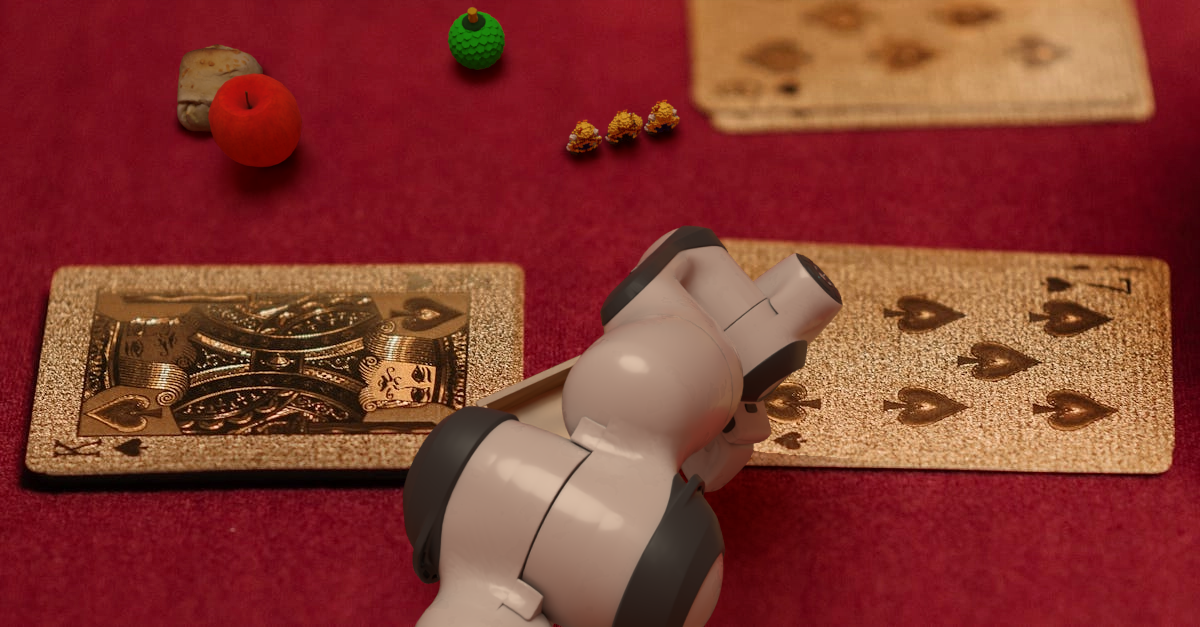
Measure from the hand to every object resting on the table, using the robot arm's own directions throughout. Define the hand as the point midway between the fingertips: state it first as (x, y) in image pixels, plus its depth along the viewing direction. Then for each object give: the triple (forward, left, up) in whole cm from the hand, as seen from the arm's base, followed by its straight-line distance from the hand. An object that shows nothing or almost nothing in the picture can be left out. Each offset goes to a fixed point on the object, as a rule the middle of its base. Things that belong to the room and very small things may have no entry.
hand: (634, 442), depth 124 cm
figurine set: (+43, -21, -6) cm, 48 cm away
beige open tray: (-2, +10, +18) cm, 21 cm away
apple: (+63, +24, -6) cm, 68 cm away
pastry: (+76, +27, -6) cm, 81 cm away
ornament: (+66, -9, -6) cm, 67 cm away
